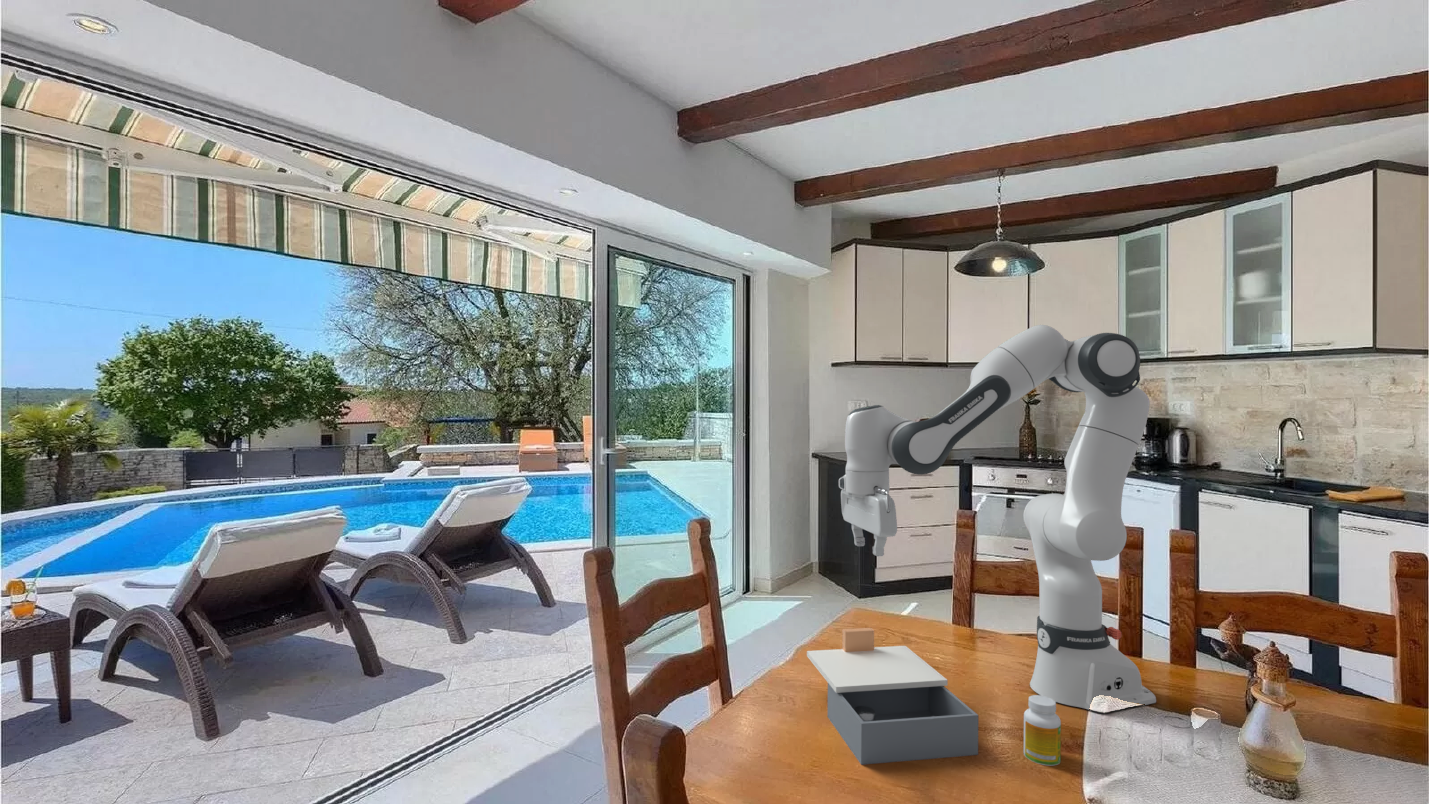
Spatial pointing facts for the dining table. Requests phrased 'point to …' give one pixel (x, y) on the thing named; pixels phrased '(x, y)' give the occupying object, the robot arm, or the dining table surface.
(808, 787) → the dining table surface
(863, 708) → the metal round part
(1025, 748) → the supplement bottle
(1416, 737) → the dining table surface
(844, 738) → the tub
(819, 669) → the lid
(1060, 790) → the dining table surface
